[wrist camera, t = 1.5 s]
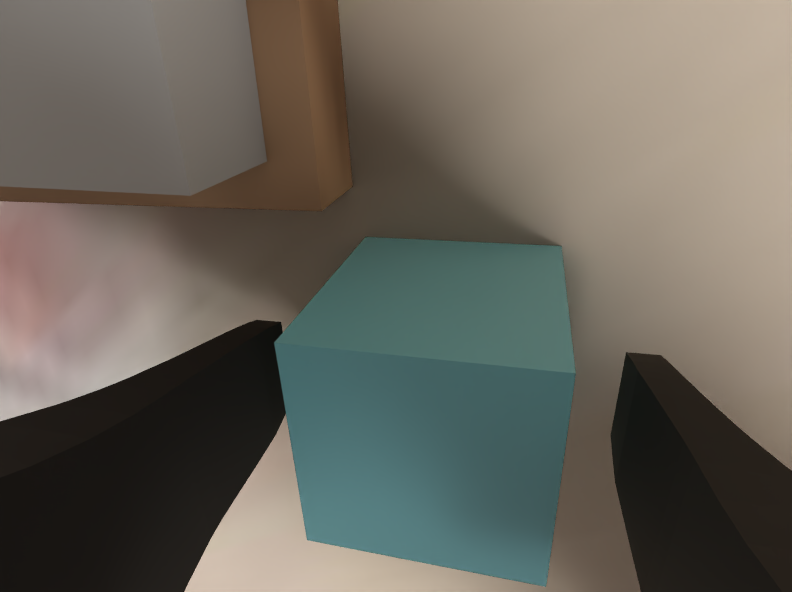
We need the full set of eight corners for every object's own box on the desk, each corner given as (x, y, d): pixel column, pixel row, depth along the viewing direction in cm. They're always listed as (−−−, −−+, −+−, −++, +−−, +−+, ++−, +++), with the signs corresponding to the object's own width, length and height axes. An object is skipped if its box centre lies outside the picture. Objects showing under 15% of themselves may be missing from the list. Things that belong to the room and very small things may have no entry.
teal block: (543, 408, 13) (546, 587, 9) (376, 388, 14) (307, 540, 10) (561, 244, 11) (575, 373, 7) (366, 235, 12) (274, 342, 8)
